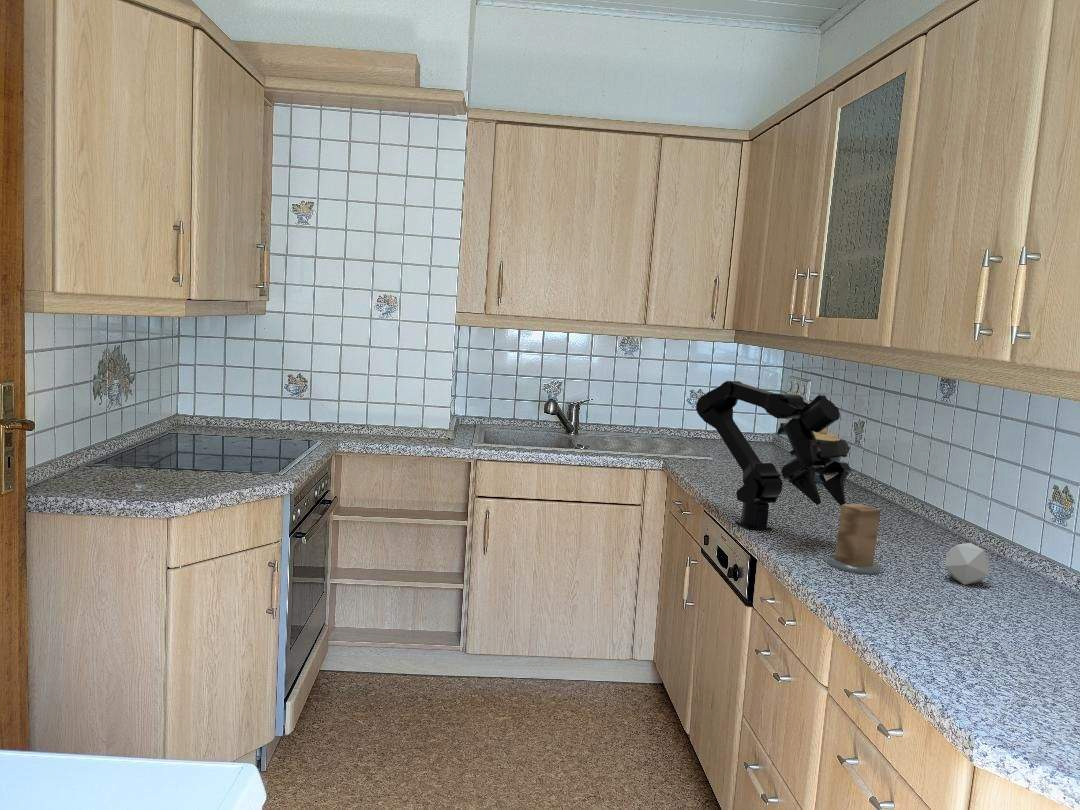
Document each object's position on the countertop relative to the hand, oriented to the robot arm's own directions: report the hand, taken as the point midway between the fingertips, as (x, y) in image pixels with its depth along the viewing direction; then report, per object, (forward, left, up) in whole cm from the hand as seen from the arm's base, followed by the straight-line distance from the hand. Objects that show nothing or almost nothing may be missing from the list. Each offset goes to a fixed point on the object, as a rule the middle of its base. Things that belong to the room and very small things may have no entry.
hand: (831, 504), depth 193 cm
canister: (-78, +57, -11) cm, 97 cm away
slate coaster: (+9, 0, -11) cm, 14 cm away
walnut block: (+9, 0, -10) cm, 14 cm away
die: (+20, +20, -11) cm, 30 cm away
